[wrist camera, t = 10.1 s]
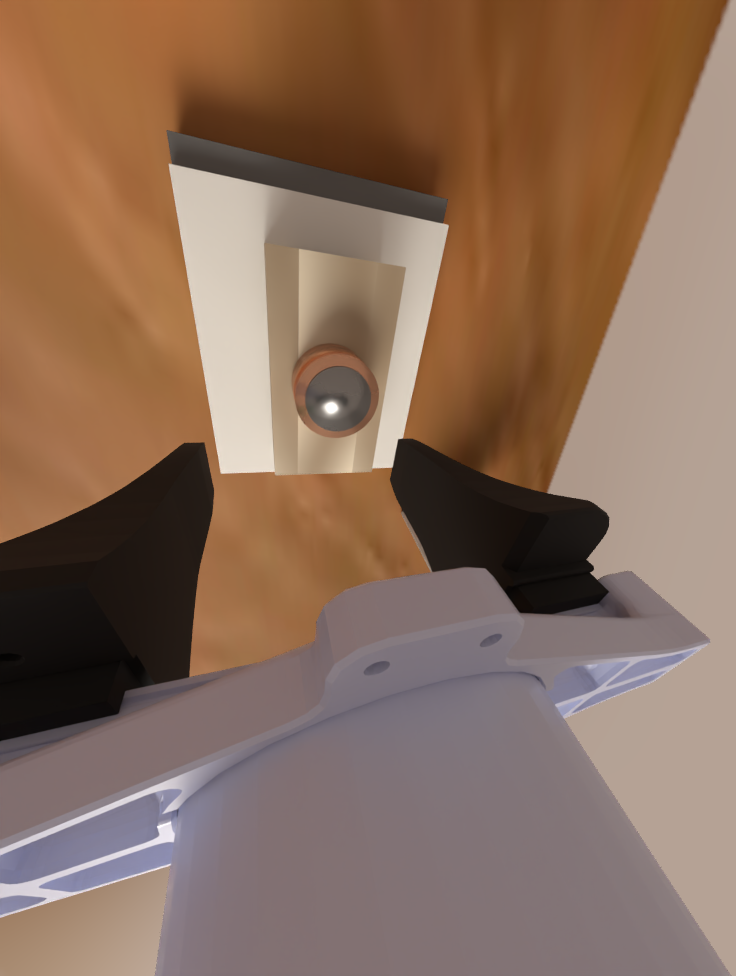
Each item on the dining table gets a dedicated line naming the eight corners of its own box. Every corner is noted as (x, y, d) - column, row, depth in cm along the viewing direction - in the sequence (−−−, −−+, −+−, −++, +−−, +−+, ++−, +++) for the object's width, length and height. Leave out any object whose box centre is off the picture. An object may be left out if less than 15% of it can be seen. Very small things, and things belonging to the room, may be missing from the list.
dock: (224, 453, 22) (220, 473, 20) (176, 142, 13) (161, 124, 11) (386, 450, 25) (396, 467, 23) (432, 203, 17) (454, 197, 15)
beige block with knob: (273, 444, 20) (275, 475, 17) (264, 244, 14) (264, 243, 11) (357, 443, 21) (371, 471, 18) (380, 263, 15) (406, 267, 13)
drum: (291, 419, 15) (295, 439, 14) (291, 339, 13) (295, 352, 12) (362, 420, 16) (373, 439, 15) (371, 346, 14) (386, 359, 13)
